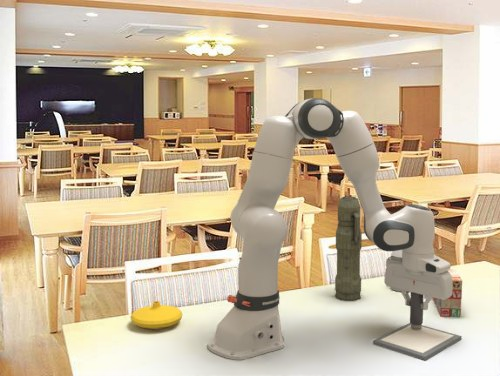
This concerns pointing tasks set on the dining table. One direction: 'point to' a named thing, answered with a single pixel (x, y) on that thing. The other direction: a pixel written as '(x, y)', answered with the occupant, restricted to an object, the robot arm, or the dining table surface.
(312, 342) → the dining table surface
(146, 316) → the yellow lid
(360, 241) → the thermos
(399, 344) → the writing board
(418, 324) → the marker
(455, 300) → the stack of blocks
